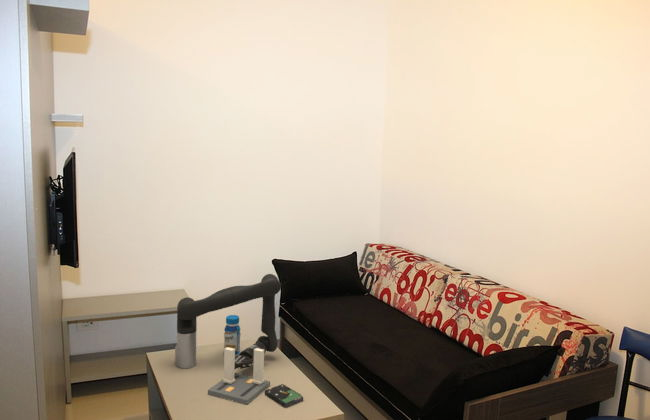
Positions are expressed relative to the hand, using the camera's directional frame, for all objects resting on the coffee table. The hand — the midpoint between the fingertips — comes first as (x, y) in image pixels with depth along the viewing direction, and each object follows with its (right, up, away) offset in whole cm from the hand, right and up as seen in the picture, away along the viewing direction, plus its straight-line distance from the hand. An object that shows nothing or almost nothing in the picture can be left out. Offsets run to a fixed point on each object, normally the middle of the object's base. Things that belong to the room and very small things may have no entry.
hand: (230, 368), depth 239 cm
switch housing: (+5, -9, -3) cm, 10 cm away
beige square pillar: (-1, -6, 0) cm, 6 cm away
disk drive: (+25, -11, -8) cm, 28 cm away
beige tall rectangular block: (+12, -6, 0) cm, 14 cm away
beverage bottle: (-6, -3, +36) cm, 37 cm away
